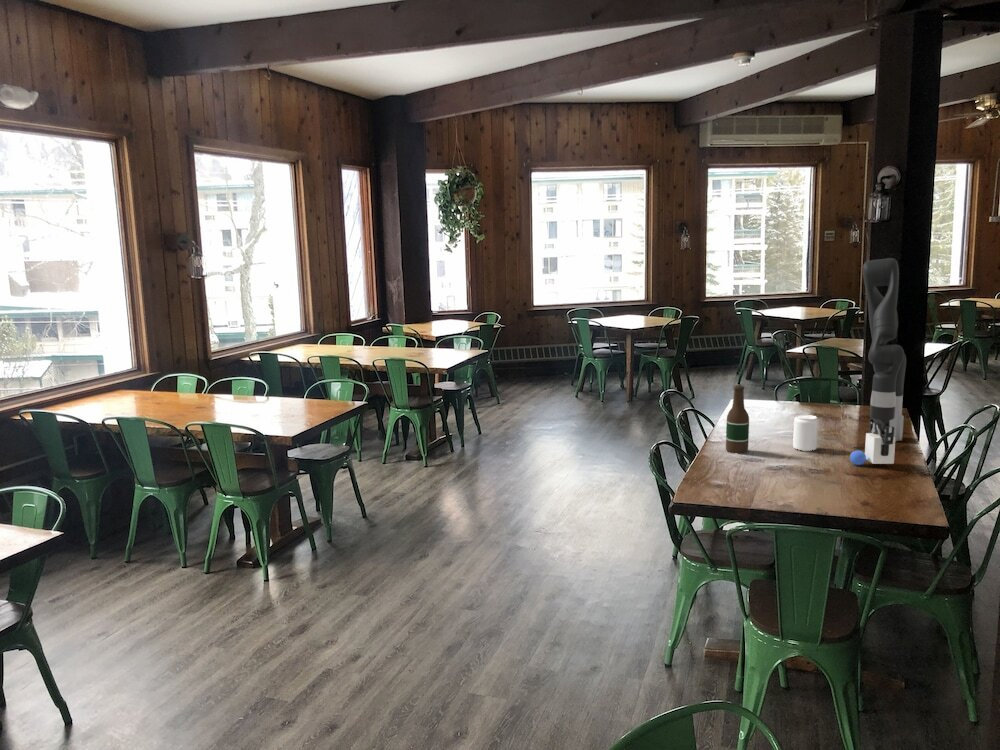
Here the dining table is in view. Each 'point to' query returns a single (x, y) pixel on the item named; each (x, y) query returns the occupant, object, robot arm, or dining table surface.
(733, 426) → the beer bottle
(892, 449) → the white matte cube
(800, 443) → the beverage can
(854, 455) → the ball
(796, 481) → the dining table surface
